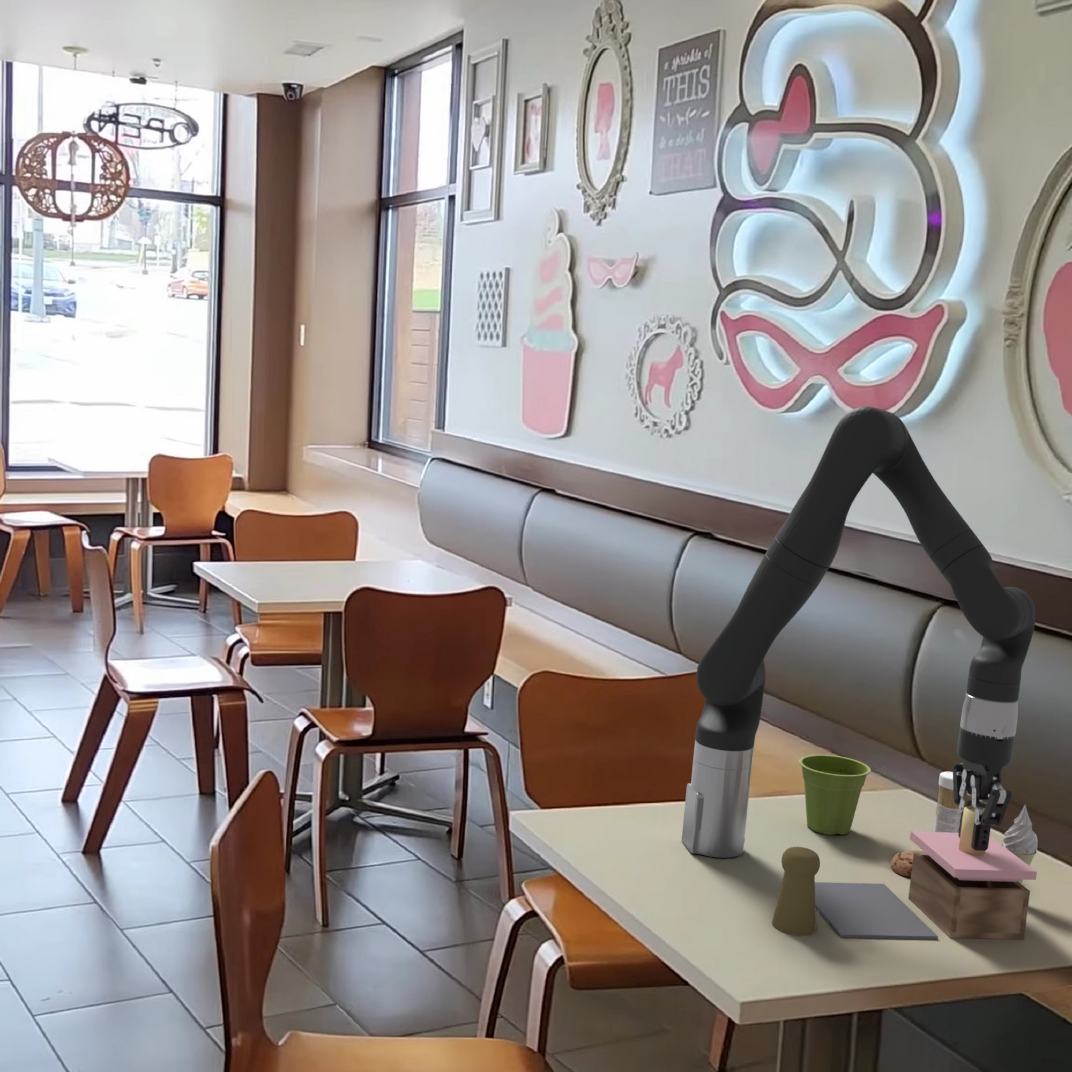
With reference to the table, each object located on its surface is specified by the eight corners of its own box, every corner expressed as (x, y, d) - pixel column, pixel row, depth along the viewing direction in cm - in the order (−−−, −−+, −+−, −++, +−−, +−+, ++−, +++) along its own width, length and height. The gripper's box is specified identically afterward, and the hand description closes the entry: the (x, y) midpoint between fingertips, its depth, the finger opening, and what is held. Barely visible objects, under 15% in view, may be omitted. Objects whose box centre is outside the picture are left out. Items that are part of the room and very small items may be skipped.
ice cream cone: (1013, 908, 205) (1025, 810, 203) (987, 896, 209) (999, 799, 207) (1037, 905, 207) (1050, 808, 205) (1011, 892, 211) (1023, 797, 209)
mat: (840, 937, 189) (841, 934, 189) (795, 884, 207) (795, 881, 207) (937, 939, 191) (937, 936, 191) (883, 886, 209) (884, 883, 209)
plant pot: (790, 813, 241) (797, 751, 240) (860, 822, 240) (867, 759, 238) (793, 836, 229) (800, 770, 228) (866, 844, 228) (874, 778, 227)
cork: (806, 939, 187) (815, 861, 186) (764, 926, 190) (773, 849, 189) (822, 925, 192) (830, 849, 191) (781, 913, 195) (789, 838, 194)
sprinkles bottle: (941, 847, 229) (950, 769, 228) (965, 856, 226) (974, 777, 224) (924, 852, 226) (934, 772, 225) (948, 861, 223) (958, 780, 221)
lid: (953, 884, 190) (960, 827, 189) (908, 845, 205) (915, 791, 204) (1034, 886, 192) (1042, 829, 191) (984, 848, 207) (991, 794, 206)
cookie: (877, 864, 220) (879, 846, 219) (931, 860, 224) (933, 842, 224) (917, 888, 211) (920, 869, 210) (972, 883, 215) (975, 864, 215)
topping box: (949, 937, 192) (955, 889, 191) (908, 898, 205) (913, 852, 204) (1023, 939, 193) (1030, 891, 192) (977, 899, 207) (983, 854, 206)
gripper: (941, 713, 202) (927, 826, 204) (986, 740, 188) (970, 862, 190) (989, 715, 203) (974, 828, 206) (1037, 743, 189) (1021, 863, 192)
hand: (972, 843), depth 198 cm, fingers closed on lid, 3 cm apart
